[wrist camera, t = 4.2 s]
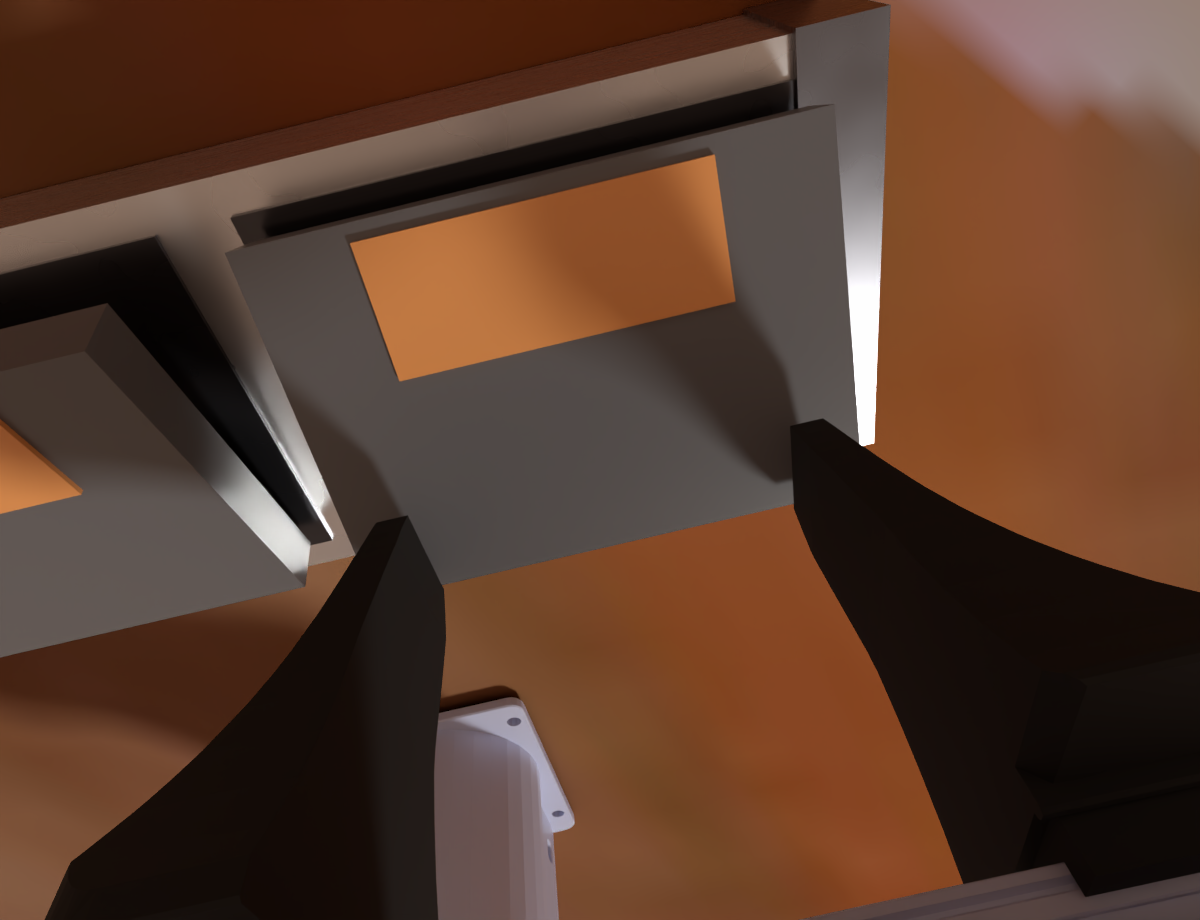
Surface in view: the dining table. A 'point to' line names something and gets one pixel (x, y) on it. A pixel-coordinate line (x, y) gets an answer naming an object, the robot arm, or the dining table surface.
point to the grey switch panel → (421, 171)
